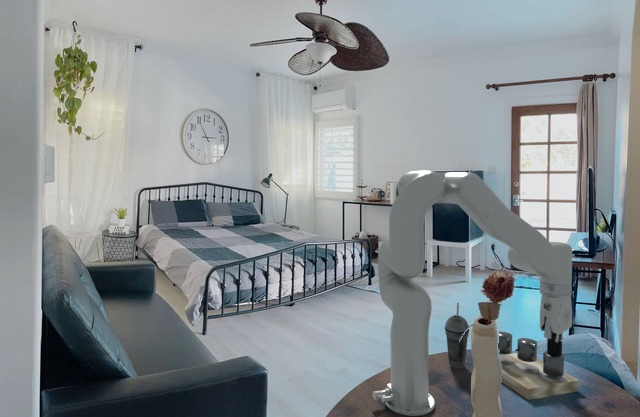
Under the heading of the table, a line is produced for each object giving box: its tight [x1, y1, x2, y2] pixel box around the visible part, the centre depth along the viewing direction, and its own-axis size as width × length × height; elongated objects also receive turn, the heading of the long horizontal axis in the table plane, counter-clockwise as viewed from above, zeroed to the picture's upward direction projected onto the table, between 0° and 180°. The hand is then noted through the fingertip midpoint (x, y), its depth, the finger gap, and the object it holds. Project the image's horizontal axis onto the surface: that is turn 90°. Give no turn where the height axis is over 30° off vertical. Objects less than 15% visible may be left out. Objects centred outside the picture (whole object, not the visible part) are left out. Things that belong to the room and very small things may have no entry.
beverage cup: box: [444, 302, 470, 369], centre depth 133 cm, size 7×7×20 cm
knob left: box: [498, 331, 513, 355], centre depth 129 cm, size 5×5×5 cm
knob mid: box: [516, 337, 538, 362], centre depth 123 cm, size 5×5×5 cm
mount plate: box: [500, 352, 579, 401], centre depth 124 cm, size 16×20×3 cm
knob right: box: [542, 350, 565, 377], centre depth 118 cm, size 5×5×5 cm
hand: (554, 354), depth 118 cm, fingers closed
